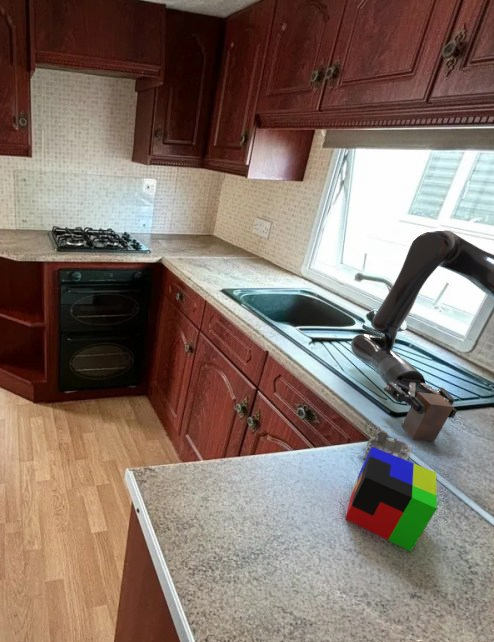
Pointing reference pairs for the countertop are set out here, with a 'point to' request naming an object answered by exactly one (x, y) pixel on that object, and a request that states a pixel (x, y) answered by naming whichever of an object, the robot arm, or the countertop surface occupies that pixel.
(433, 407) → the walnut block
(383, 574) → the countertop surface
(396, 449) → the egg carton
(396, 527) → the puzzle toy
